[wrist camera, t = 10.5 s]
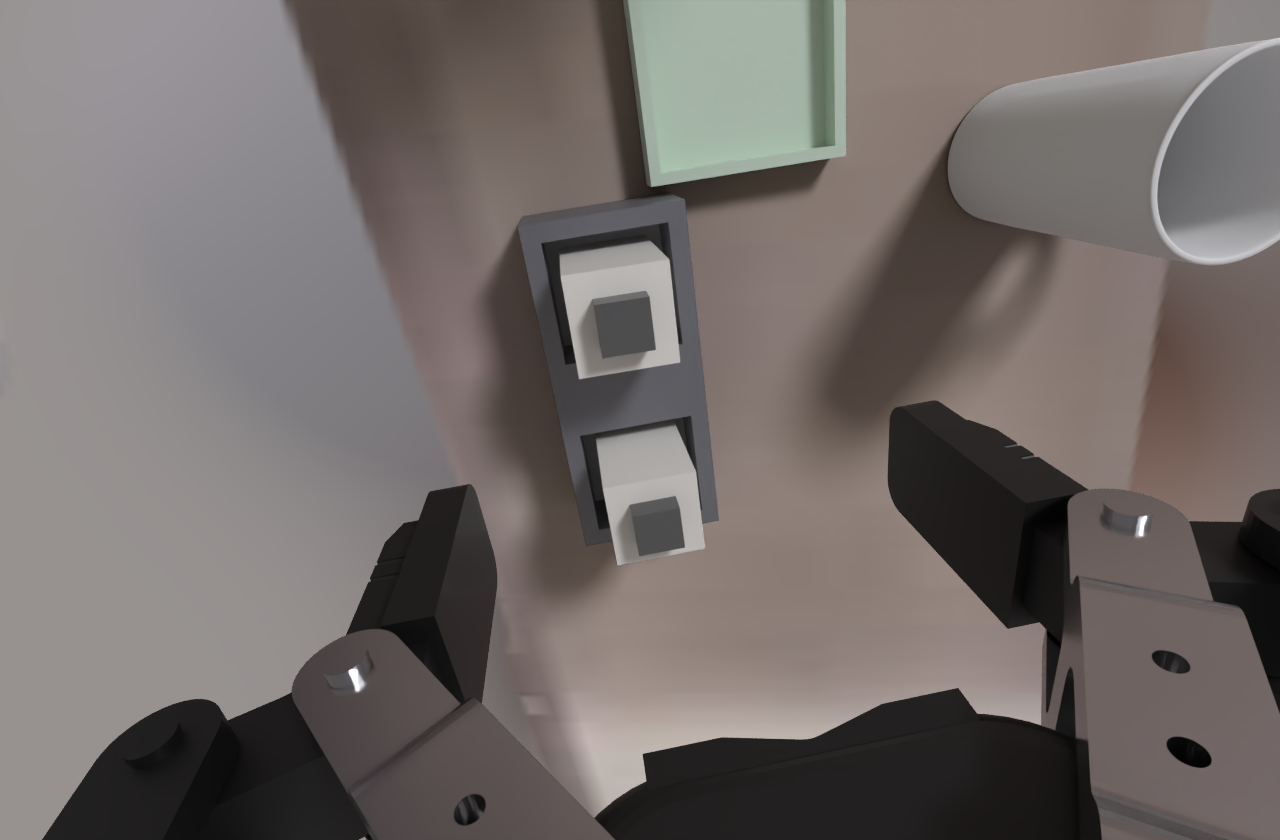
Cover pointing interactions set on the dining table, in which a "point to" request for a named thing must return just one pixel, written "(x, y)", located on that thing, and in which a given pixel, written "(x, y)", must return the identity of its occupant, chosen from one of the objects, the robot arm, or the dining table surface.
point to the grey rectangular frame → (622, 393)
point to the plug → (619, 306)
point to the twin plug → (649, 492)
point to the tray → (736, 84)
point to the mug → (1134, 155)
